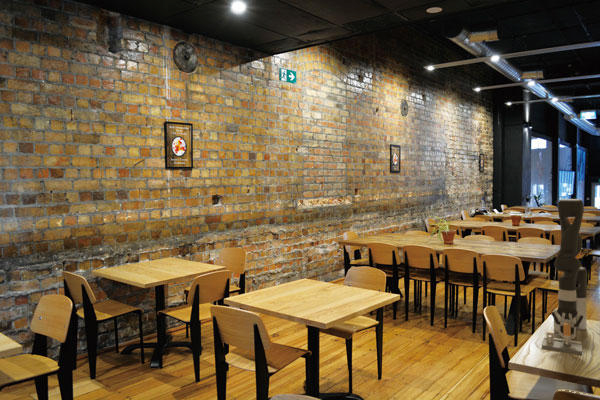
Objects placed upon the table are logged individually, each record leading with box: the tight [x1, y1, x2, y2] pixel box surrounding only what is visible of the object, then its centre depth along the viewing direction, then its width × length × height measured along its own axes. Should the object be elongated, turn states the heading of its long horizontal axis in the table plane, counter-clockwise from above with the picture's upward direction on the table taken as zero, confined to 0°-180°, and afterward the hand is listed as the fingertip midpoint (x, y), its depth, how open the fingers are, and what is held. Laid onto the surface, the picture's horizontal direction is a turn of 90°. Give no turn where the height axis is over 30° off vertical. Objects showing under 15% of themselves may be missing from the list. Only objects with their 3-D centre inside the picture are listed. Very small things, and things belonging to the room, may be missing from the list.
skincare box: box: [553, 307, 560, 333], centre depth 236 cm, size 6×4×12 cm
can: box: [558, 316, 577, 340], centre depth 227 cm, size 8×8×12 cm
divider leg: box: [562, 323, 572, 347], centre depth 212 cm, size 3×8×9 cm, turn 147°
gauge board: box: [541, 329, 583, 356], centre depth 213 cm, size 16×12×6 cm
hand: (567, 333), depth 213 cm, fingers closed on divider leg, 3 cm apart
